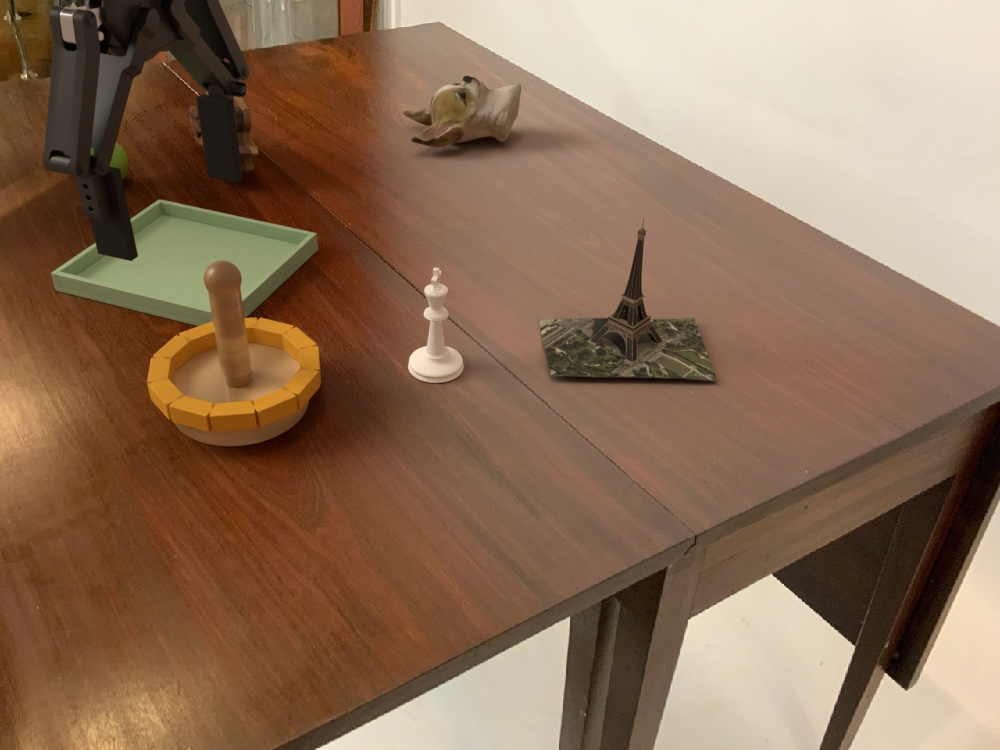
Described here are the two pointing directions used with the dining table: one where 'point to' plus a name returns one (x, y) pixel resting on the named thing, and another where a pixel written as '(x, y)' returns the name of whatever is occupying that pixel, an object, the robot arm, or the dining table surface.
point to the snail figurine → (119, 159)
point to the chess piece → (435, 341)
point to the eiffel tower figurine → (627, 340)
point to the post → (234, 364)
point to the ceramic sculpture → (467, 113)
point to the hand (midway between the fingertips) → (175, 214)
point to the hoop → (241, 412)
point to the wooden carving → (243, 132)
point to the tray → (187, 262)
